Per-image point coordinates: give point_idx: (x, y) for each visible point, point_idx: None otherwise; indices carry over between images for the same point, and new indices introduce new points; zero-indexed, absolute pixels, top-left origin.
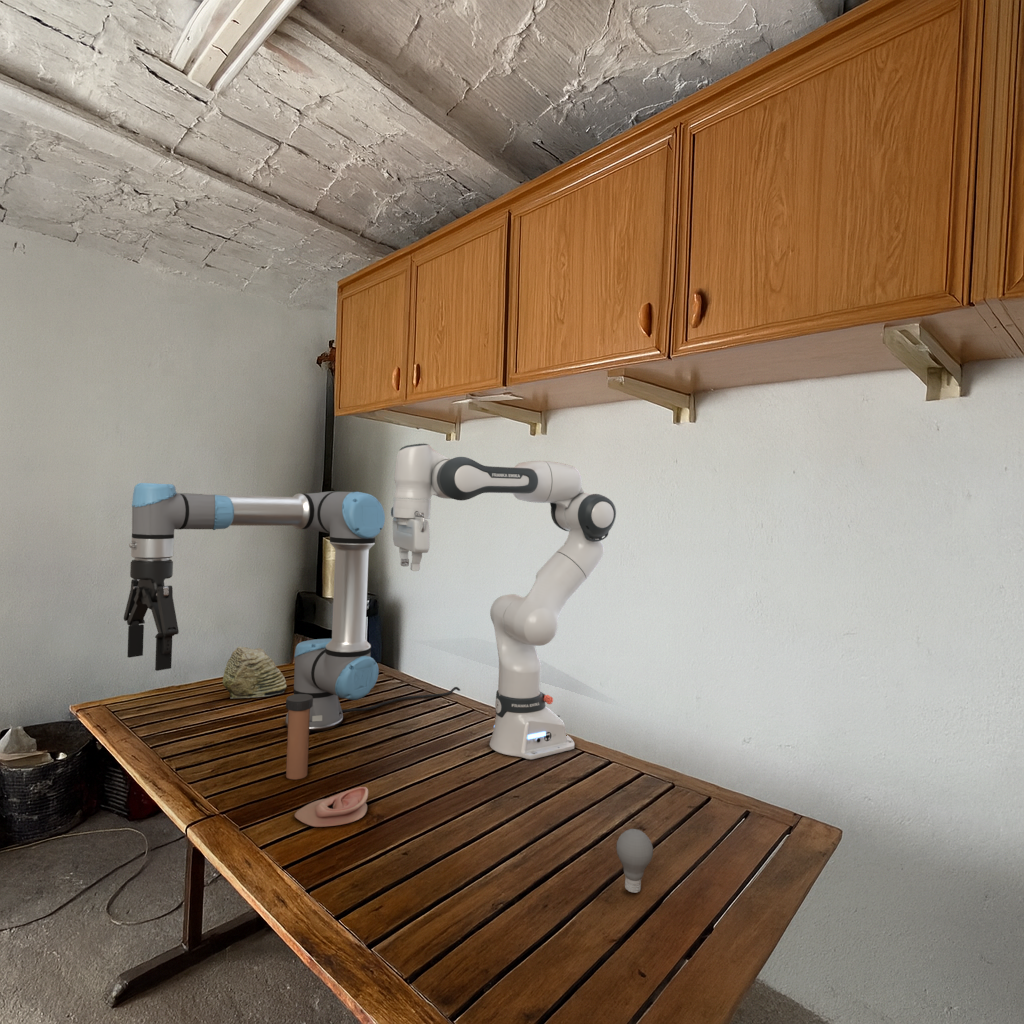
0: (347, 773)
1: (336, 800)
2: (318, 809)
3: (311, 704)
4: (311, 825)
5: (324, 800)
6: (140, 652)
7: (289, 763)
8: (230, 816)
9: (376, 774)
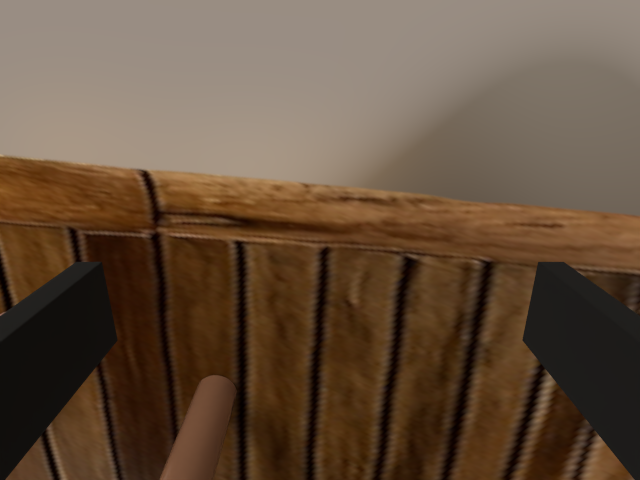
0: (164, 445)
1: None
2: None
3: None
4: (4, 312)
5: None
6: (535, 340)
7: (203, 396)
8: (131, 239)
9: (129, 470)
